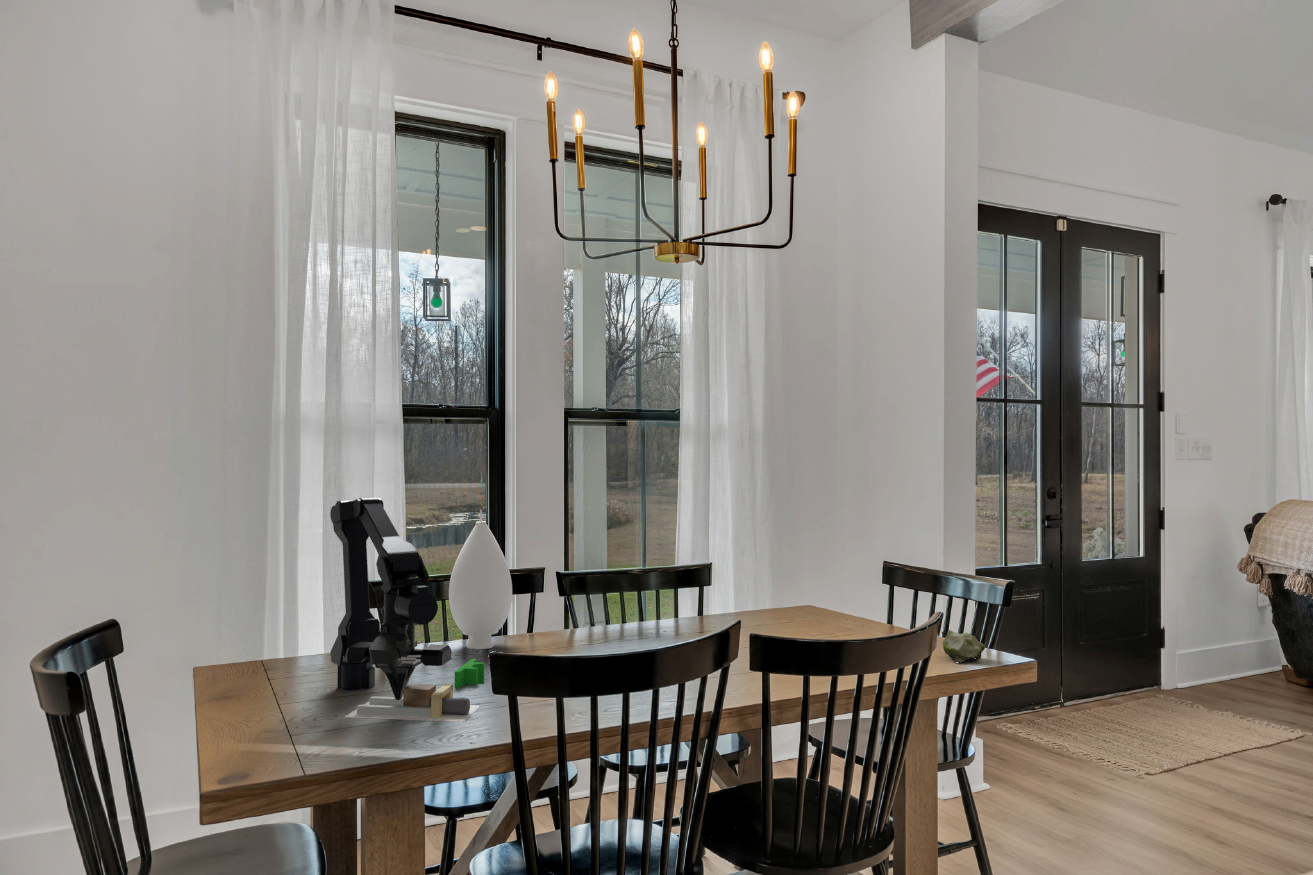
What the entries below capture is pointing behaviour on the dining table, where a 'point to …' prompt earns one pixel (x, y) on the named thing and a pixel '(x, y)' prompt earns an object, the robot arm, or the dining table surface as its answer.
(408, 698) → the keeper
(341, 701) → the dining table surface
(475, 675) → the pipe clamp
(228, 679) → the dining table surface
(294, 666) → the dining table surface
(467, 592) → the lamp
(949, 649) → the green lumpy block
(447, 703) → the rod
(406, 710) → the channel board
